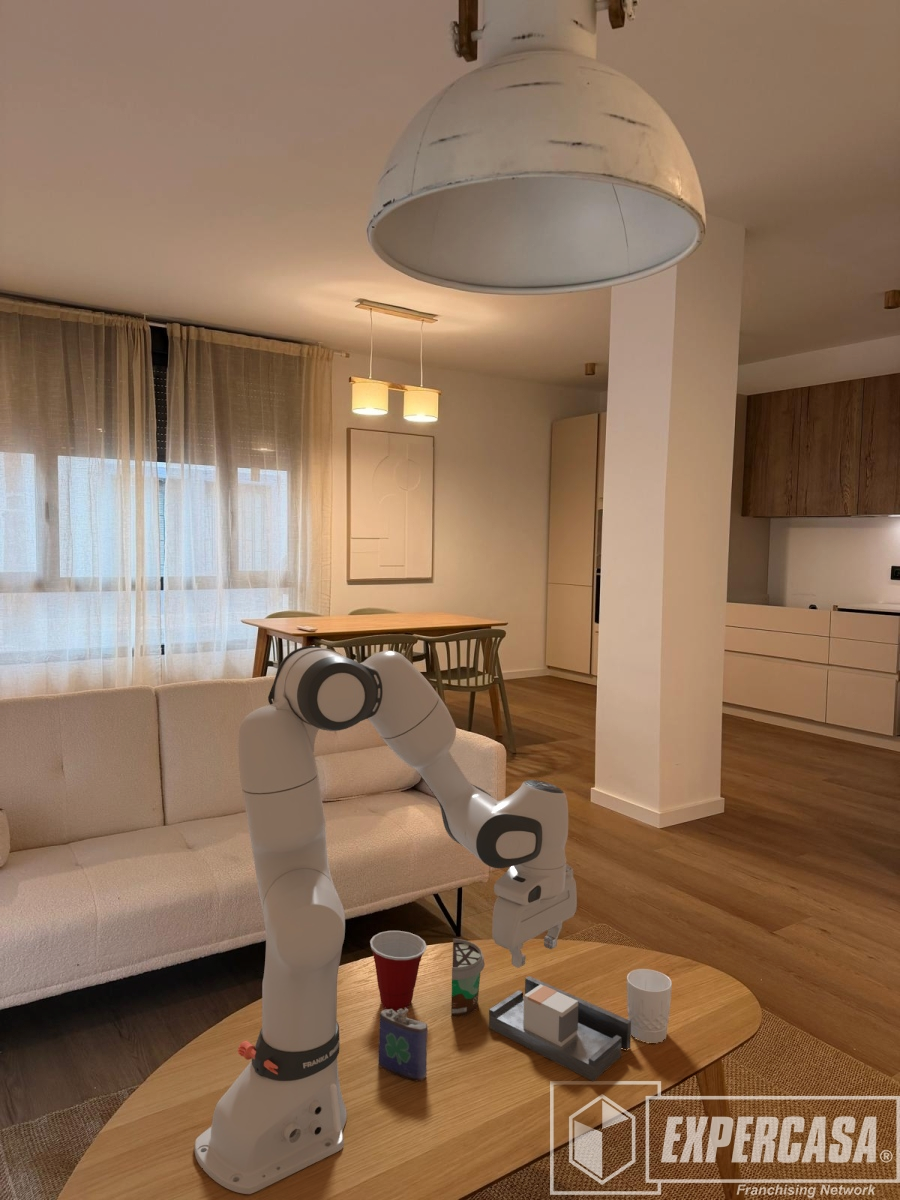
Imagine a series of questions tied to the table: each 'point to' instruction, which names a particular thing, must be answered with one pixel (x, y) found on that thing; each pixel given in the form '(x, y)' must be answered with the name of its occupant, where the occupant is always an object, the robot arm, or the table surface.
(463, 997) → the food container
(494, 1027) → the dark grey tray
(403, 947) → the plastic cup
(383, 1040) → the flask
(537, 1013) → the block
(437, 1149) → the table surface
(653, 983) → the white cup
